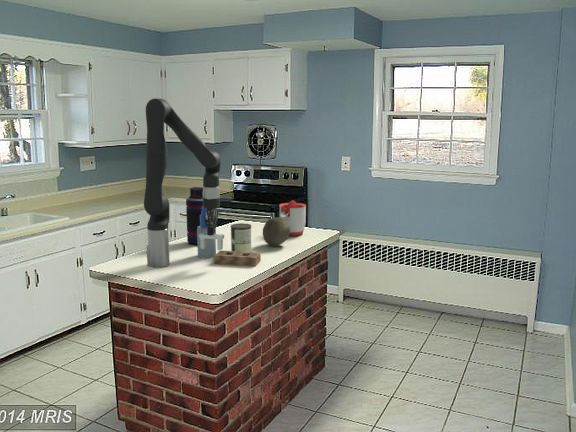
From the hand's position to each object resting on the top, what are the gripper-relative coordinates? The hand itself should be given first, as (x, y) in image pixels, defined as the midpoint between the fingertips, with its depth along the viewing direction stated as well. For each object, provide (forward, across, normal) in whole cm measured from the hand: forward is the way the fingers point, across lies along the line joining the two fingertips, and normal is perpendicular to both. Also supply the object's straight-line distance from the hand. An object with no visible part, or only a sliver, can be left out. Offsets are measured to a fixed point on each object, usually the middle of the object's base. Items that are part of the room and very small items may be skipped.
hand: (211, 234), depth 248 cm
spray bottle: (+16, -18, -9) cm, 25 cm away
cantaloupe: (+15, -45, +20) cm, 52 cm away
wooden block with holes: (+15, -10, +9) cm, 20 cm away
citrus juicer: (+15, -73, +24) cm, 78 cm away
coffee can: (+16, -27, +6) cm, 32 cm away
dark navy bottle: (+16, -43, -22) cm, 51 cm away
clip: (+7, 0, 0) cm, 7 cm away
